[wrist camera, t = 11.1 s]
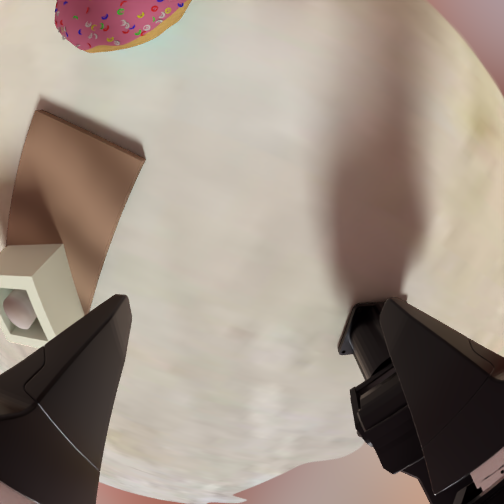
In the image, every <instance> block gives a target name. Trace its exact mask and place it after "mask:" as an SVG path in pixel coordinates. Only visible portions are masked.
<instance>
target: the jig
mask: <svg viewBox="0 0 504 504" xmlns="http://www.w3.org/2000/svg"><path fill="white" fill-rule="evenodd" d="M145 160H146V159H144V158H142V157H140V156H138V155H136V154H134V153H132V152H130V151H128V150H126V149H124V148H122V147H120V146H118V145H116V144H114V143H112V142H110V141H108V140H106V139H104V138H102V137H100V136H97V135H95V134H93V133H91V132H89V131H87V130H85V129H83V128H81V127H79V126H76V125H74V124H72V123H70V122H68V121H66V120H64V119H61V118H59V117H57V116H55V115H53V114H50V113H48V112H46V111H44V110H36V111H35V113H34V116H33V119H32V122H31V125H30V128H29V131H28V134H27V137H26V140H25V144H24V147H23V151H22V155H21V159H20V162H19V167H18V171H17V175H16V180H15V185H14V190H13V195H12V201H11V207H10V214H9V222H8V230H7V240H6V247H7V246H10V245H38V244H64V249H65V253H66V256H67V260H68V264H69V268H70V271H71V275H72V278H73V281H74V285H75V288H76V291H77V294H78V297H79V300H80V303H81V306H82V309H83V312H84V316H85V315H86V314H88V313H89V311H90V307H91V303H92V300H93V296H94V293H95V289H96V286H97V282H98V279H99V276H100V273H101V270H102V266H103V263H104V260H105V257H106V254H107V252H108V249H109V246H110V243H111V240H112V238H113V235H114V232H115V230H116V227H117V224H118V222H119V219H120V217H121V214H122V212H123V209H124V207H125V204H126V202H127V200H128V197H129V195H130V193H131V190H132V188H133V186H134V183H135V181H136V179H137V177H138V175H139V173H140V170H141V168H142V166H143V164H144V162H145ZM3 308H4V311H5V313H6V315H7V317H8V318H9V319H10V321H11V322H12V323H13V324H15V325H16V326H17V327H19V328H21V329H29V328H30V326H31V325H32V323H33V322H34V320H35V319H36V317H37V315H36V313H35V311H34V308H33V306H32V304H31V301H30V299H29V296H28V294H27V291H26V290H21V289H13V291H12V292H11V293H10V294H9V295H8V296H7V298H6V299H5V300H4V302H3Z"/></svg>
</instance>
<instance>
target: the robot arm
mask: <svg viewBox="0 0 504 504" xmlns="http://www.w3.org/2000/svg"><path fill="white" fill-rule="evenodd" d="M359 308H360V309H359ZM358 309H359V310H358ZM131 323H132V314H131V309H130V304H129V299H128V297H127V296H126V295H120V294H115V295H114V296H112V297H111V298H109V299H108V300H106V301H105V302H103V303H102V304H100V305H99V306H98V307H96V308H95V309H93V310H92V311H90V312H89V313H88V314H86V315H85V316H83V317H82V318H81V319H79V320H78V321H76V322H75V323H74V324H72V325H71V326H69V327H68V328H67V329H65V330H64V331H62V332H61V333H60V334H58V335H57V336H56V337H54V338H53V339H51V340H50V341H49V342H47V343H46V344H45V345H44V346H42V347H41V348H39V349H38V350H37V351H35V352H34V353H32V354H31V355H30V356H28V357H27V358H25V359H24V360H23V361H21V362H19V363H18V364H16V365H15V366H13V367H12V368H10V369H9V370H7V371H5V372H4V373H2V374H1V375H0V504H96V496H97V489H98V482H99V476H100V472H99V471H100V468H101V462H102V457H103V451H104V446H105V441H106V436H107V431H108V426H109V422H110V417H111V413H112V409H113V404H114V400H115V396H116V392H117V388H118V384H119V381H120V377H121V373H122V370H123V366H124V362H125V357H126V351H127V345H128V339H129V334H130V328H131ZM338 352H339V354H340V355H348V354H353V355H354V357H355V359H356V361H357V363H358V366H359V368H360V370H361V372H362V374H363V377H364V379H365V381H364V382H363V383H361V384H360V385H358V386H357V387H353V388H352V389H350V395H351V404H352V410H353V415H354V421H355V427H356V430H357V434H358V436H359V437H362V438H363V439H364V441H365V442H366V443H367V444H368V445H369V446H371V447H374V449H375V451H376V453H377V455H378V457H379V459H380V462H381V464H382V466H383V468H384V469H386V470H387V471H389V472H390V473H392V474H396V473H398V472H400V471H401V472H403V473H405V474H408V475H410V476H412V477H415V478H417V479H418V481H419V482H420V484H421V486H422V488H423V490H424V492H425V494H426V496H427V498H428V500H429V502H430V504H504V357H502V356H500V355H498V354H496V353H494V352H493V351H491V350H489V349H487V348H485V347H483V346H482V345H480V344H478V343H476V342H475V341H473V340H471V339H469V338H467V337H466V336H464V335H463V334H461V333H459V332H457V331H456V330H454V329H452V328H450V327H449V326H447V325H445V324H443V323H442V322H440V321H438V320H436V319H435V318H433V317H431V316H429V315H428V314H426V313H424V312H422V311H420V310H419V309H417V308H415V307H413V306H412V305H410V304H408V303H407V302H406V301H403V300H401V299H399V298H388V299H387V300H386V302H380V303H362V304H357V305H355V306H354V308H353V311H352V313H351V316H350V319H349V322H348V325H347V328H346V330H345V333H344V336H343V339H342V341H341V344H340V346H339V349H338Z"/></svg>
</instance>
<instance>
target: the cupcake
mask: <svg viewBox="0 0 504 504" xmlns="http://www.w3.org/2000/svg"><path fill="white" fill-rule="evenodd" d="M191 1H192V0H57V3H56V9H55V25H56V27H57V29H58V32H60V33H61V35H62V38H63V39H67V40H68V41H70V42H71V43H72V44H73V45H74V46H75V47H77V48H79V49H81V50H84V51H86V52H89V53H95V52H107V51H114V50H120V49H125V48H130V47H133V46H137V45H140V44H143V43H145V42H148V41H150V40H152V39H154V38H156V37H157V36H159V35H160V34H161V33H163V32H164V31H165V30H166V29H168V28H169V27H170V26H172V25H174V24H175V23H176V22H178V21H179V20H180V19H181V17H182V16H183V14H184V13H185V11H186V9H187V7H188V5H189V4H190V2H191ZM64 37H65V38H64Z"/></svg>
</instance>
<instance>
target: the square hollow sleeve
mask: <svg viewBox="0 0 504 504" xmlns="http://www.w3.org/2000/svg"><path fill="white" fill-rule="evenodd" d="M13 289H21V290H26V291H27V294H28V296H29V299H30V301H31V304H32V306H33V308H34V311H35V313H36V315H37V317H36V319H35V320H34V322H33V323H32V325H31V326H30V328H29V329H21V328H19V327H17V326H16V325H15V324H13V323H12V322H11V321H10V319H9V318H8V317H7V315H6V313H5V311H4V308H3V302H4V300H5V299H6V298H7V296H8V295H9V294H10V293H11V292H12V291H13ZM83 316H84V312H83V309H82V306H81V303H80V300H79V297H78V294H77V291H76V288H75V285H74V281H73V278H72V275H71V271H70V268H69V264H68V260H67V256H66V253H65V249H64V244H38V245H10V246H7V247H6V248H4V249H3V250H2V251H1V252H0V328H1V330H2V332H3V334H4V336H5V337H6V339H7V341H8V342H11V343H15V344H20V345H24V346H29V347H34V348H41V347H42V346H44V345H45V344H46V343H47V342H49V341H50V340H51V339H53V338H54V337H56V336H57V335H58V334H60V333H61V332H62V331H64V330H65V329H67V328H68V327H69V326H71V325H72V324H74V323H75V322H76V321H78V320H79V319H81V318H82V317H83Z"/></svg>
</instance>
